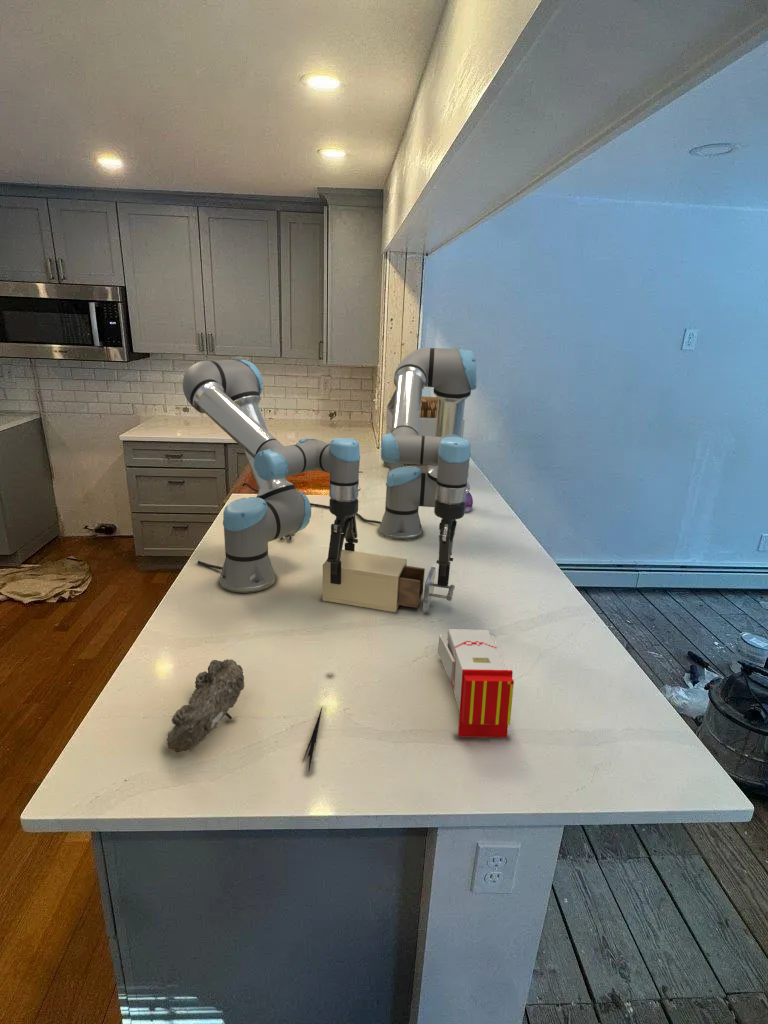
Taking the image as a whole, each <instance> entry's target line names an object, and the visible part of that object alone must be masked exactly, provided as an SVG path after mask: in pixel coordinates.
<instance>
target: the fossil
mask: <svg viewBox="0 0 768 1024" xmlns="http://www.w3.org/2000/svg"><path fill="white" fill-rule="evenodd" d="M243 670H244V669H243V667H242V665H240V664H237V662H236V661H235V660H234V659H232V658H231V659H227V658H226V659H224V660H223V661H222V660H217V659H212V660H211V661H210V663H209V665H208V666H207V671H201V672H199V673H198V674H197V675H196V676H195V680H194V684H195V685H194V687H195V689H194V690H193V693H192V694H191V697H190V698H189V700H188V704H184V705H182V706H181V707H180V709H177V710H176V711H175V713H174V715H173V716H172V718H171V723H172V724H173V727H172V730H171V731H170V732H168V734H167V738H166V741H167V742H166V745H167V749H168V750H169V751H173V752H174V753H176V754H178V753H182V752H188V751H189V752H192V751H193V750H195V748H196V747H197V746H199V744H200V743H201V742H203V741H204V740H205V739H206V738H207V737H208V736H209V735H210V734H211V733H212V732H214V730H215V729H217V727H218V726H219V724H220V722H221V721H222V720H223V719H224V718H225V716H226V717H227V719H229V720H233V717H232V715H230V714H229V710H230V709H231V708H234V706H235V704H236V703H237V702H238V699H239V697H240V695H241V693H242V691H243V690H245V689H244V688H245V675H244V671H243Z"/></svg>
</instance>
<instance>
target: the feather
mask: <svg viewBox="0 0 768 1024" xmlns="http://www.w3.org/2000/svg"><path fill="white" fill-rule="evenodd" d="M329 675H330V676H331V675H332V674H331V673H330V674H329ZM322 710H323V707H321V708H320V710H319V713H318V716H317V719H316V723H315V725H314V728H313V731H312V733H311V737H310V739H309V742H308V745H307V748H306V751H305V754H304V757H303V760H302V763H301V767H302V765H303V763H304V761H305V758H308V759H309V760H308V762H307V763H308V764H307V766H308V771H310V770H311V766H312V765H311V764H312V760H313V757H315V756H314V755H315V751H316V749H315V746H317V739H318V733H319V729H320V722H321V717H322V712H323V711H322ZM313 754H314V755H313ZM306 755H307V757H306Z"/></svg>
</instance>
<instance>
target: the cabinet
mask: <svg viewBox="0 0 768 1024" xmlns="http://www.w3.org/2000/svg"><path fill="white" fill-rule="evenodd" d="M340 561H341V584H340V585H339V584H332V583H330V571H331V562H328V561H327V560H326V561H325V562H324V563H323V564H322V600H321V601H325V602H331V603H336V604H342V605H348V606H349V605H350V606H354V607H360V608H367V609H373V610H379V611H385V612H391V613H397V610H398V608H399V606H400V605H397V597H398V581H399V576H400V575H401V573H402V571H403V569H404V567H405V566H408V565H407V563H408V558H404V557H397V556H389V555H384V554H382V555H381V554H377V553H376V554H375V553H371V552H370V553H369V552H362V551H357V550H355V551H349V550H345V549H342V553H341V558H340Z"/></svg>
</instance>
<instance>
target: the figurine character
mask: <svg viewBox="0 0 768 1024" xmlns="http://www.w3.org/2000/svg"><path fill="white" fill-rule="evenodd" d="M295 535H296V533H294V534H290V535H287V536H284V537H281V538H279V540H280V541H283V539H284V538H288V541H289V542H290V541H292V537H294V536H295Z"/></svg>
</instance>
